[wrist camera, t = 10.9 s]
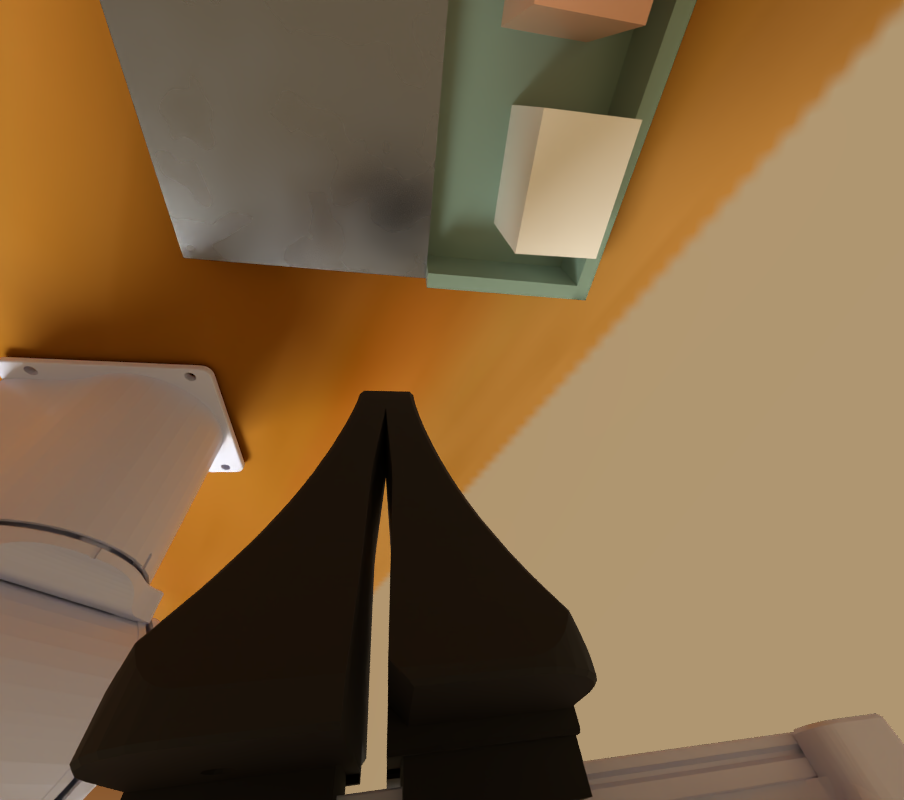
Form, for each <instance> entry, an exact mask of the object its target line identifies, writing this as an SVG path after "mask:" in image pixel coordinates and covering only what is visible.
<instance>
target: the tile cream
mask: <svg viewBox="0 0 904 800" xmlns="http://www.w3.org/2000/svg"><path fill="white" fill-rule="evenodd" d="M641 123H642V120H640V119H632V118H624V117H616V116H608V115H600V114H591V113H583V112H575V111H567V110H559V109H551V108H543V107H532V106H521V105H512V108H511V114H510V120H509V127H508V133H507V140H506V146H505V153H504V159H503V166H502V172H501V179H500V185H499V192H498V198H497V205H496V211H495V218H494V224H495V226H496V227H497V228H498V230H499V231H500V233H501V234H502V235H503V237H504V238H505V240H506V241H507V243H508V244H509V245H510V247H511V248H512V250H513V251H514V253H515V254H529V255H544V256H559V257H574V258H589V259H596V257H597V254H598V251H599V248H600V245H601V242H602V239H603V236H604V233H605V230H606V227H607V224H608V221H609V218H610V215H611V212H612V209H613V206H614V204H615V201H616V198H617V195H618V192H619V189H620V186H621V183H622V180H623V177H624V174H625V171H626V168H627V165H628V162H629V159H630V156H631V153H632V150H633V147H634V144H635V141H636V138H637V135H638V132H639V129H640V126H641Z"/></svg>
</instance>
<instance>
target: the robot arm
mask: <svg viewBox="0 0 904 800" xmlns="http://www.w3.org/2000/svg"><path fill="white" fill-rule="evenodd" d="M189 373H192V374H194V375H195V376H196V377H195V376H191V375H190V374H189ZM0 376H1V377H2V379H3V380H1V381H0V800H83V799H84V798H85V797H86V795H88V793H90V791H91V790H92V789H93V788H94V787H95V786H97V785H99V786H103V787H106V788H110V789H114V790H118V791H122V792H124V793H123V795H122V798H121V800H904V744H903V742H902V741H901V740H900V738H898V736H897V735H896V733H895V732H894V731H893V729H892V728H891V727H890V726H889V724H888V723H887V722H886V720H885V719H884V718H883V717H882V716H880V715H878V714H876V713H874V714H867V715H860V716H853V717H845V718H838V719H832V720H825V721H821V722H817V723H812V724H809V725H805V726H802V727H800V728H797V729H794V732H790V733H783V734H775V735H769V736H761V737H754V738H747V739H740V740H733V741H726V742H718V743H711V744H704V745H697V746H690V747H682V748H676V749H668V750H661V751H654V752H647V753H640V754H632V755H626V756H618V757H611V758H604V759H597V760H590V761H583V760H582V756H581V752H580V749H579V745H578V741H577V738H576V735H578V734H579V733H580V726H579V723H578V719H577V715H576V712H575V708H574V705H575V704H576V703H577V702H578V701H580V700H581V699H582V698H583V697H584V696H586V695H587V694H588V693H589V692H590V691H591V690H592V689H593V687H594V686H595V684H596V681H597V678H596V673H595V670H594V666H593V663H592V660H591V657H590V655H589V652H588V650H587V647H586V645H585V643H584V641H583V639H582V636H581V634H580V632H579V630H578V628H577V626H576V624H575V622H574V620H573V618H572V616H571V614H570V612H569V610H568V609H567V608H566V607H565V606H564V605H562V604H561V603H560V602H559V601H558V600H557V599H556V598H555V597H554V596H553V595H552V594H551V593H550V592H548V591H547V590H546V589H545V588H544V587H543V586H542V585H541V584H540V583H539V582H538V581H537V580H536V579H535V578H534V577H533V576H532V575H531V574H530V573H529V572H528V571H527V570H526V569H525V568H524V567H523V566H522V565H521V564H520V563H519V562H518V561H517V559H516V558H515V557H514V556H513V555H512V554H511V553H510V552H509V551H508V550H507V549H506V547H505V546H504V545H503V544H502V543H501V542H500V541H499V539H498V538H497V537H496V536H495V535H494V533H493V532H492V531H491V530H490V529H489V528H488V526H486V524H485V523H484V522H483V521H482V520H481V518H480V517H479V516H478V514H477V513H476V512H475V510H474V509H473V508H472V506H471V505H470V504H469V503H468V501H467V500H466V498H465V497H464V495H463V494H462V493H461V491H460V490H459V488H458V487H457V485H456V484H455V482H454V481H453V479H452V478H451V476H450V474H449V473H448V471H447V470H446V468H445V466H444V465H443V463H442V461H441V459H440V458H439V456H438V454H437V452H436V450H435V449H434V447H433V445H432V443H431V441H430V439H429V437H428V435H427V433H426V430H425V428H424V426H423V424H422V421H421V419H420V416H419V414H418V411H417V408H416V405H415V401H414V397H413V395H412V394H411V393H410V392H396V391H363V392H362V393H361V394H360V396H359V399H358V401H357V403H356V405H355V408H354V410H353V412H352V413H351V415H350V417H349V419H348V421H347V423H346V424H345V426H344V428H343V429H342V431H341V433H340V434H339V436H338V437H337V439H336V441H335V442H334V444H333V445H332V447H331V448H330V450H329V451H328V453H327V454H326V456H325V457H324V458H323V460H322V461H321V463H320V464H319V465H318V467H317V468H316V470H315V471H314V472H313V474H312V475H311V476H310V477H309V479H308V480H307V481H306V483H305V484H304V485H303V486H302V487H301V489H300V490H299V491H298V492H297V493H296V495H295V496H294V497H293V498H292V499H291V500H290V502H289V503H288V504H287V505H286V506H285V507H284V508H283V509H282V510H281V512H280V513H279V514H278V515H277V516H276V517H275V518H274V519H273V520H272V521H271V522H270V523H269V524H268V526H267V527H266V528H265V529H264V530H263V531H262V532H261V533H260V534H259V535H258V536H257V537H256V538H255V539H254V540H253V541H252V542H251V543H250V544H249V545H248V546H247V547H246V548H244V549H243V550H242V551H241V552H240V553H239V554H238V555H237V556H236V557H235V558H234V559H233V560H232V561H230V562H229V563H228V564H227V565H226V566H225V567H224V568H223V569H222V570H221V571H220V572H219V573H218V574H216V575H215V576H214V577H213V578H212V579H211V580H210V581H209V582H208V583H206V584H205V585H204V586H203V587H202V588H201V589H200V590H198V591H197V592H196V593H195V594H194V595H192V596H191V597H190V598H189V599H188V600H186V601H185V602H184V603H183V604H182V605H180V606H179V607H178V608H177V609H176V610H174V611H173V612H172V613H171V614H169V615H168V616H167V617H166V618H165V619H163V620H162V621H161V622H160V621H159V620H157V619H155V618H152V617H153V615H154V613H155V611H156V609H157V606H158V604H159V602H160V600H161V598H162V596H163V592H162V591H159V590H157V589H155V588H153V587H152V586H150V583H151V581H152V579H153V577H154V575H155V574H156V572H157V570H158V568H159V566H160V564H161V562H162V560H163V558H164V556H165V554H166V552H167V550H168V548H169V547H170V545H171V543H172V541H173V539H174V537H175V535H176V533H177V531H178V529H179V527H180V525H181V523H182V521H183V520H184V518H185V516H186V514H187V512H188V510H189V508H190V506H191V504H192V502H193V500H194V498H195V496H196V494H197V493H198V491H199V489H200V487H201V485H202V483H203V481H204V479H205V477H206V475H207V473H208V472H239V471H241V470H242V469H243V468H244V465H245V463H244V460H243V457H242V454H241V451H240V448H239V445H238V442H237V439H236V436H235V434H234V431H233V428H232V425H231V422H230V419H229V416H228V413H227V410H226V407H225V404H224V401H223V398H222V395H221V392H220V389H219V386H218V383H217V380H216V378H215V375H214V373H213V371H212V370H211V369H210V368H208V367H206V366H201V365H179V364H156V363H133V362H110V361H87V360H63V359H40V358H17V357H2V358H0ZM385 479H386V486H387V501H388V515H389V530H390V545H391V570H390V612H389V613H390V615H389V652H388V727H387V789H382V790H375V791H368V792H362V793H353V794H346V795H345V786H351V785H358V784H360V776H361V765H362V764H363V762H364V761H365V759H366V750H367V749H366V748H367V724H368V697H369V673H370V647H371V626H372V603H373V582H374V564H375V554H376V545H377V538H378V531H379V523H380V516H381V509H382V502H383V494H384V487H385Z"/></svg>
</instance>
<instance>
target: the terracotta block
mask: <svg viewBox="0 0 904 800" xmlns="http://www.w3.org/2000/svg"><path fill="white" fill-rule="evenodd" d="M652 3H653V0H505V1H504V8H503V15H502V23H501V27H503V28H509V29H515V30H520V31H526V32H531V33H537V34H542V35H548V36H553V37H559V38H565V39H570V40H576V41H581V42H590V41H593V40H597V39H600V38H604V37H607V36H611V35H614V34H617V33H621V32H624V31H628V30H631V29H635V28H638V27H642V26H645V25H646V22H647V19H648V16H649V13H650V10H651V6H652Z"/></svg>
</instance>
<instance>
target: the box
mask: <svg viewBox="0 0 904 800" xmlns="http://www.w3.org/2000/svg"><path fill="white" fill-rule="evenodd" d="M504 1H505V0H448V11H447V23H446V35H445V48H444V60H443V72H442V85H441V97H440V109H439V121H438V134H437V146H436V158H435V171H434V183H433V195H432V207H431V220H430V232H429V244H428V257H427V269H426V285H427V288H440V289H452V290H464V291H477V292H489V293H502V294H514V295H527V296H539V297H552V298H564V299H577V300H586V297H587V295H588V292H589V289H590V287H591V284H592V281H593V279H594V276H595V273H596V270H597V268H598V265H599V262H600V260H601V257H602V254H603V252H604V249H605V246H606V243H607V241H608V238H609V235H610V233H611V230H612V227H613V225H614V222H615V219H616V217H617V214H618V211H619V208H620V206H621V203H622V200H623V198H624V195H625V192H626V190H627V187H628V184H629V181H630V179H631V176H632V173H633V171H634V168H635V165H636V163H637V160H638V157H639V155H640V152H641V149H642V146H643V144H644V141H645V138H646V136H647V133H648V130H649V128H650V125H651V122H652V119H653V117H654V114H655V111H656V109H657V106H658V103H659V101H660V98H661V95H662V92H663V90H664V87H665V84H666V82H667V79H668V76H669V74H670V71H671V68H672V66H673V63H674V60H675V57H676V55H677V52H678V49H679V47H680V44H681V41H682V39H683V36H684V33H685V30H686V28H687V25H688V22H689V20H690V17H691V14H692V12H693V9H694V6H695V3H696V1H697V0H653V3H652V6H651V10H650V13H649V16H648V19H647V22H646V25H645V26H642V27H638V28H635V29H631V30H628V31H624V32H621V33H617V34H614V35H611V36H607V37H604V38H600V39H597V40H593V41H590V42H581V41H576V40H570V39H565V38H559V37H553V36H548V35H542V34H537V33H531V32H526V31H520V30H515V29H509V28H503V27H501V23H502V15H503V8H504ZM512 105H521V106H532V107H543V108H551V109H559V110H567V111H575V112H583V113H591V114H600V115H608V116H616V117H624V118H632V119H640V120H642V123H641V126H640V129H639V132H638V135H637V138H636V141H635V144H634V147H633V150H632V153H631V156H630V159H629V162H628V165H627V168H626V171H625V174H624V177H623V180H622V183H621V186H620V189H619V192H618V195H617V198H616V201H615V204H614V206H613V209H612V212H611V215H610V218H609V221H608V224H607V227H606V230H605V233H604V236H603V239H602V242H601V245H600V248H599V251H598V254H597V257H596V259H589V258H574V257H559V256H544V255H529V254H515V253H514V251H513V250H512V248H511V247H510V245H509V244H508V243H507V241H506V240H505V238H504V237H503V235H502V234H501V233H500V231H499V230H498V228H497V227H496V226H495V224H494V218H495V211H496V205H497V198H498V192H499V185H500V179H501V172H502V166H503V159H504V153H505V146H506V140H507V133H508V127H509V120H510V114H511V108H512Z"/></svg>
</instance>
